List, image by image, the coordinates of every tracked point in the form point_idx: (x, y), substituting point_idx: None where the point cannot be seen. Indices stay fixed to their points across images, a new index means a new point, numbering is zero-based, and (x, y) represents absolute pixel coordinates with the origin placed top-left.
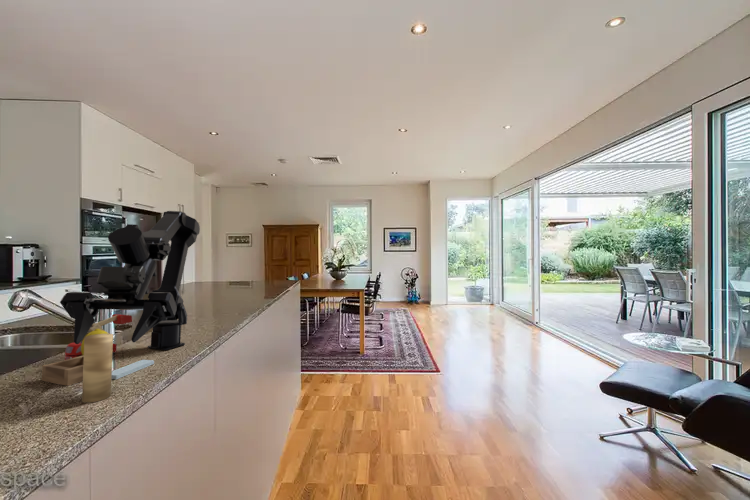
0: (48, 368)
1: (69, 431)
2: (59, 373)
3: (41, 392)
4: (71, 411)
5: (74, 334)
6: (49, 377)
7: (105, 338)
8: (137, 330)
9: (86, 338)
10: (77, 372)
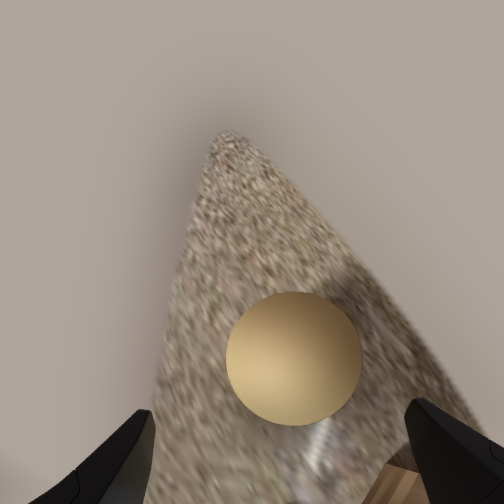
0: None
1: (227, 214)
2: None
3: None
4: None
5: (444, 412)
6: None
7: (241, 318)
8: (116, 440)
9: (332, 307)
10: (387, 488)
